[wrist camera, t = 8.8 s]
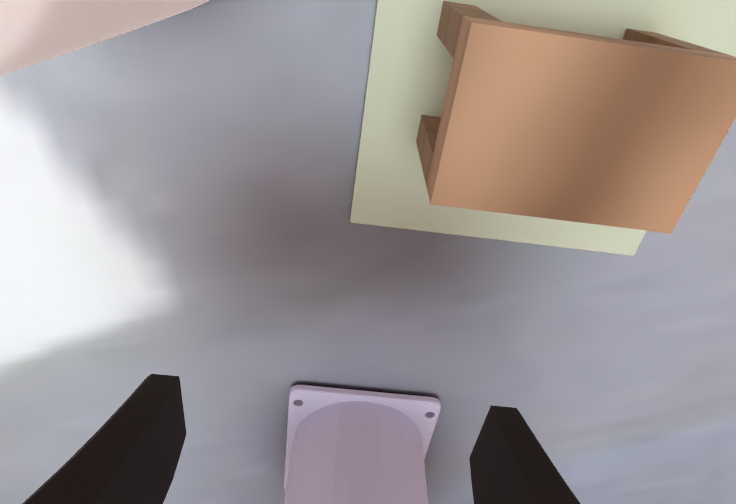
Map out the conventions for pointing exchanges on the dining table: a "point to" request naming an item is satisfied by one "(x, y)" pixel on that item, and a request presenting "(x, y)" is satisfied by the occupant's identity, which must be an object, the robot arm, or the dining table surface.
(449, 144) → the stool
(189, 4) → the can
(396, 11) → the mat
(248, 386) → the dining table surface
